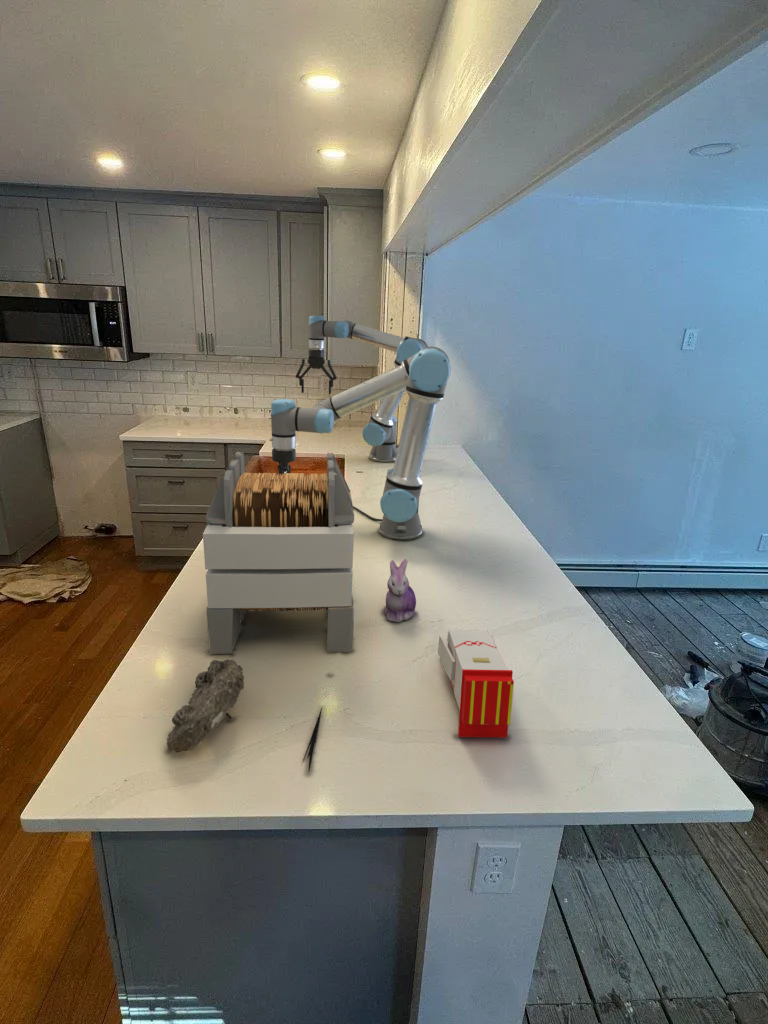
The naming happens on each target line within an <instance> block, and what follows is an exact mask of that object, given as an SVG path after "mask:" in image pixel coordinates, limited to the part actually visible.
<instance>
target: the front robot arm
mask: <svg viewBox="0 0 768 1024" xmlns="http://www.w3.org/2000/svg"><path fill="white" fill-rule="evenodd" d="M451 367H452V366H451V363H450V359H449V356H448V354H447V353H446V352H445V351H444V350H443V349H441V348H439V347H437V346H428V347H426V348H423V349H422V350H420V351H419V352H418V353H416V354H415V355H413V356H412V357H410V358H408V359H406V360H404V361H402V363H401V365H400V366H398V367H396V368H395V367H394V368H391V369H389V370H387V371H385V372H383V373H381V374H379V375H377V376H374V377H371V378H370V379H368V380H366V381H363V382H361V383H359V384H356V385H355V386H352V387H350V388H348V389H346V390H344V391H340V392H339V393H337V394H334V395H333V396H330V397H327V398H326V399H323V400H320V401H318V402H317V403H316V402H315V404H314V405H313V406H311V407H301V406H297V405H296V401H295V400H293V399H289V398H278V399H274V400H273V401H271V406H270V424H271V425H270V426H271V437H270V438H269V441H270V442H271V448H272V449H271V460H272V462H275V463H278V464H277V471H278V473H277V475H278V474H279V475H280V474H281V475H282V474H283V475H284V473H291V471H292V470H291V469H292V467H291V465H290V464H289V463H293V462H295V461H296V460H297V455H296V454H297V453H296V452H297V451H296V447H297V438H296V437H297V435H296V432H301V433H315V434H317V433H318V434H330V433H332V432H333V430H334V425H335V421H337V420H340V419H341V418H344V417H346V416H349V415H351V414H353V413H355V412H358V411H359V410H362V409H364V408H366V407H369V406H371V405H373V404H375V403H378V402H381V400H382V399H385V398H387V397H389V396H392V395H394V394H396V393H398V392H401V391H403V390H405V389H406V390H405V392H406V394H407V396H408V399H407V400H408V401H407V405H406V410H405V415H404V419H403V422H402V427H401V432H400V437H399V441H398V444H399V446H398V447H397V455H396V459H395V462H394V464H393V468H390V469H388V470H387V471H386V476H385V478H386V479H385V483H384V488H383V492H382V496H381V498H380V500H379V501H380V502H379V505H380V510H381V513H382V514H383V515H382V519H381V518H375V517H373V516H371V515H369V514H367V513H366V512H364V511H363V510H361V509H359V508H358V507H356V506H354V505H353V510H355V511H357V512H358V513H360V514H362V515H363V516H364V517H366V518H368V519H370V520H372V521H375V522H379V527H378V533H379V534H380V535H381V536H382V537H385V538H387V539H389V540H395V541H410V540H415V539H418V538H420V537H421V536H422V535H423V525H422V524H421V518H420V515H419V507H420V506H419V505H420V496H421V492H422V487H423V484H424V482H423V480H422V478H421V476H422V475H421V472H422V468H423V463H424V458H425V455H426V451H427V447H428V446H427V445H428V442H429V438H430V434H431V429H432V425H433V420H434V416H435V413H436V408H437V404H438V403H439V402H440V401H442V400H444V397H445V392H446V388H447V384H448V381H449V379H450V375H451Z"/></svg>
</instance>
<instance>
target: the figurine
mask: <svg viewBox="0 0 768 1024" xmlns="http://www.w3.org/2000/svg"><path fill="white" fill-rule="evenodd" d="M407 567H408V559H406V558H404V559H403V560H402V561H401V563H400V565H399V566H398V565H397V563H396V562H395V561H394V560H393V559H391V560H390V561H389V570H390V576H389V578H388V579H387V589H388V591H387V592H386V594H385V595H386V596H385V607H384V615H385V616H386V620H387V621H391V622H395V623H400V622H402V621H406V620H409V619H410V618H411V617H413V616H414V615H415V610H416V606H417V597H416V593H415V591H414V590H413V587H411V586H410V582H409V579H408V577H407V574H406V571H407Z"/></svg>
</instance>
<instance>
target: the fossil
mask: <svg viewBox="0 0 768 1024" xmlns="http://www.w3.org/2000/svg"><path fill="white" fill-rule="evenodd" d="M243 670H244V669H243V667H242V665H240V664H237V662H236V661H235V660H234V659H232V658H231V659H227V658H226V659H224V660H223V661H222V660H217V659H212V660H211V661H210V663H209V665H208V666H207V671H201V672H199V673H198V674H197V675H196V676H195V680H194V684H195V685H194V687H195V689H194V690H193V693H192V694H191V697H190V698H189V700H188V704H184V705H182V706H181V707H180V709H177V710H176V711H175V713H174V715H173V716H172V718H171V723H172V724H173V727H172V730H171V731H170V732H168V734H167V738H166V741H167V742H166V745H167V749H168V750H169V751H173V752H174V753H176V754H178V753H182V752H188V751H189V752H192V751H193V750H195V748H196V747H197V746H199V744H200V743H201V742H203V741H204V740H205V739H206V738H207V737H208V736H209V735H210V734H211V733H212V732H214V730H215V729H217V727H218V726H219V724H220V722H221V721H222V720H223V719H224V718H225V716H226V717H227V719H229V720H233V717H232V715H230V714H229V710H230V709H231V708H234V706H235V704H236V703H237V702H238V699H239V697H240V695H241V693H242V691H243V690H245V689H244V688H245V675H244V671H243Z"/></svg>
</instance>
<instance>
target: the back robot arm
mask: <svg viewBox="0 0 768 1024" xmlns="http://www.w3.org/2000/svg"><path fill="white" fill-rule="evenodd" d="M307 327H308V359H306V358H302V360H301V364H300V366H299V368H298V370H297V373H296V374H295V378H296V379H298V382H299V383H298V384H299V385H298V386H300V387H301V394H304V392H305V379H304V377H305V376H306V375H307V373H308V372H309V371H310V370H311V369H313V370H315V369H317V370H320V369H321V370H322V371H323V373H324V374H325V375H326V376H327V378H328V379H329V380H328V395H331V394H332V388H333V387H334V381H335V380H337V379H338V377H337V374H336V372H335V370H334V368H333V366H332V362H331V361H332V360H331V359H325V350H324V349H325V338H334V339H335V338H337V339H346V338H347V339H351V340H354V341H358V342H361V343H364V344H368V345H371V346H374V347H377V348H381V349H384V350H387V351H391V352H394V353H396V357H395V359H394V361H393V364H394V368H396V367H398V366H400V365H401V363H402V361H404V360H406V359H408V358H410V357H412V356H413V355H415V354H416V353H418V352H419V351H420V350H422V349H423V348H426V347H429V345H428V344H427V342H426V341H425V340H424V339H421V338H415V337H411V336H406V335H405V336H404V337H403V336H401V335H396V334H392V333H389V332H386V331H382V330H379V329H375V328H372V327H368V326H365V325H362V324H358V323H355V322H352V321H350V320H326V319H325V316H324V315H309V317H308V325H307ZM305 364H308V367H306V369H305V370H304V371H303V372H302V370H303V369H304V366H305ZM325 364H326V365H327V367H328V369H329V371H330V372H329V371H328V370H327V368H326V367H325V366H324V365H325ZM330 373H331V374H330ZM405 392H406V389H405V390H403V391H401V392H398V393H396V394H394V395H392V396H389V397H387V398H385V399H382V400H380V401H379V405H378V407H377V409H376V412H374V413H372V414H371V416H370V418H369V420H368V423H367V424H365V425H364V427H363V429H362V438H363V441H364V442H365V443H366V444H368V445H369V446H371V450H370V452H369V455H368V456H369V460H370V461H373V462H376V463H377V462H378V463H395V459H396V455H397V450H398V446H399V445H398V444H397V427H398V421H397V420H398V418H397V416H395V414H396V413H397V410H398V407H399V406H400V403H401V401H402V399H403V397H404V394H405ZM397 445H398V446H397Z"/></svg>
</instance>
